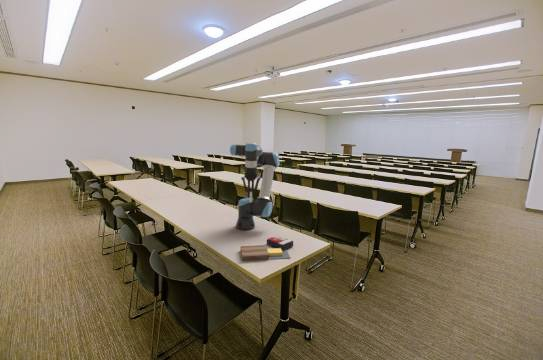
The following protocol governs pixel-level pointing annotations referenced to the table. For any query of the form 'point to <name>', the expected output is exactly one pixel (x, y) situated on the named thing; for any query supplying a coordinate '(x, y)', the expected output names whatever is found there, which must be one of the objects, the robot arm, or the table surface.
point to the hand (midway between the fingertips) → (250, 201)
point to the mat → (284, 256)
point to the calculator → (280, 242)
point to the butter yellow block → (275, 252)
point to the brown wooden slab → (254, 253)
